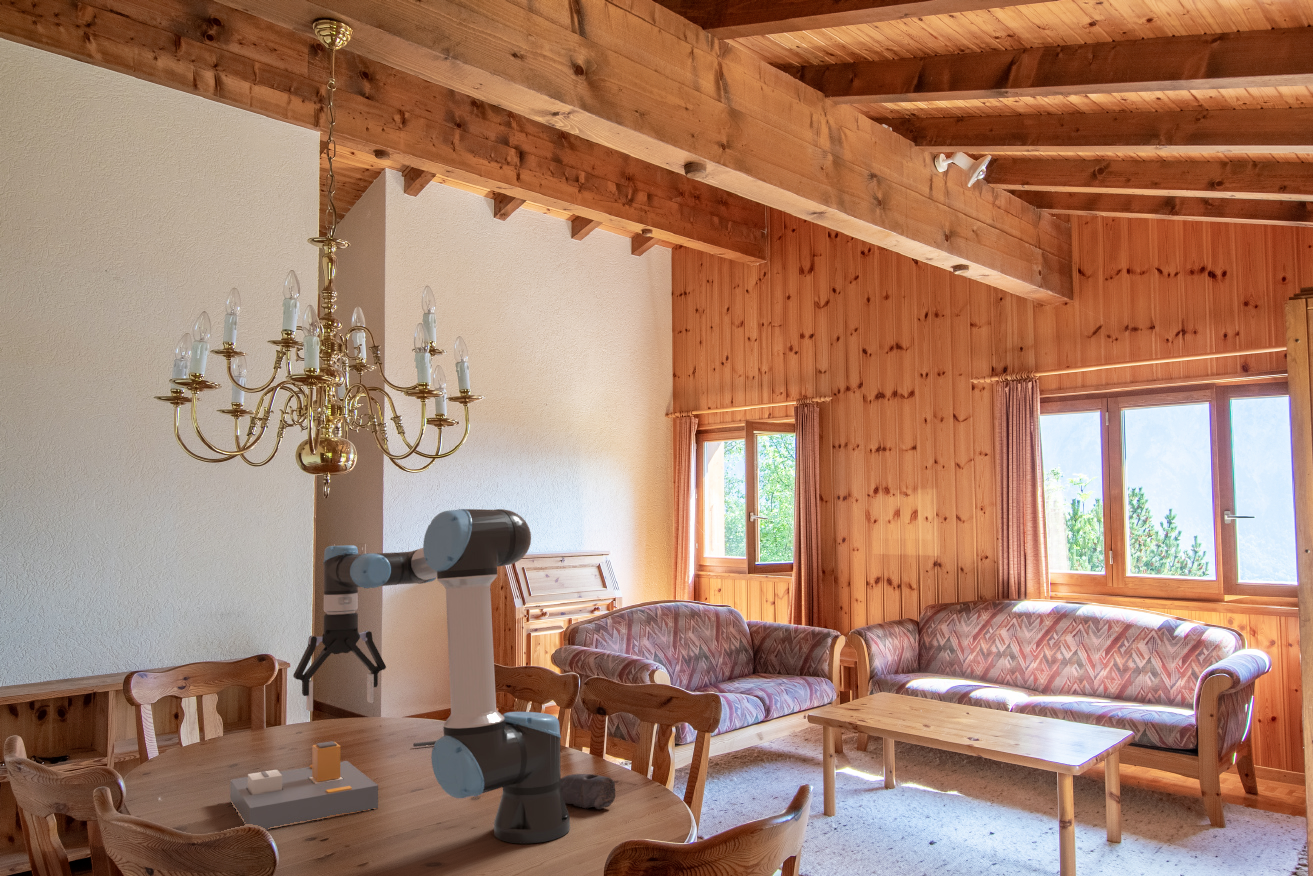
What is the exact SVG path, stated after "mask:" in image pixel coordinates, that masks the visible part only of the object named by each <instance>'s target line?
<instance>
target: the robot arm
mask: <svg viewBox="0 0 1313 876" xmlns="http://www.w3.org/2000/svg"><path fill="white" fill-rule="evenodd" d="M531 543H532V533H531V529H530V527H529V525H528V522H527V521H526V520H525V519H524V518H523V516H521V515H519V514H518V513H517V512H515V511H513V510H508V509H504V508H503V509H501V508H499V509H497V508H496V509H483V508H482V509H475V508H469V509H468V508H458V509H453V510H452V509H451V510H449V509H448V510H445V511H441V512H439V513H438V514H437V515H435V516H434V517H433V519H432V520H431V521H430V523H429V524H428V526H427V528H426V530H425V534H424V538H423V545H422V547H420V548H417V549H414V550H411V551H401V552H378V553H374V552H373V553H359V550H358V549H359V548H358V547H357V546H356V545H353V544H352V545H350V544H349V545H330V546H327V547H325V549H324V555H323V562H322V563H323V612H325V613H326V614H324V615H323V634H322V635H321V636H315V635H309V637H308V641H307V646H306V649H305V651H304V653H303V654H302V657H301V659H300V661H299V663H298V664H297V667H296V669H295V671H294V673H293V678H294V679H295V680H298V681H299V680H300V681H301V695H302V696H303V697H306V711H308V712H313V711H314V681H313V680H312V679H311V678H312V677H313V676H314V674H315V673H316V672H317V671H318V670H319V668H320V667H321V666H322V665H323V664H324V662H325V661H326V660H327V658H329V656H330V655H331V654H334V655H339V654H341V653H342V654H348V653H351V652H352V653H353V654H354V655H355V657H356V658H357V659H359V661H360V662H361V663H362V664H363V665H364V666H365V668H367V669H368V670H369V671H370V672H367V674H366V702H368V703H370V704H373V703H374V702H375V701H374V698H375V697H374V696H375V695H374V694H375V693H374V691H375V688H378V684H379V673H380V672H382V671H385V670H386V668H387V666H386V663H385V662H384V659H383V658H382V655H381V654H380V652H379V650H378V648H377V646H376V644H375V642H374V641H373V640H374V639H373V634H372V633H373V632H372V631H370V630H365V631H363V632H359V614H358V612H356V611H358V609H359V601H358V599H359V598H358V596H359V593H358V592H359V590H358V589H359V588H364V589H375V588H379V587H385V586H386V587H387V586H388V587H389V586H396V585H411V584H426V583H431V582H434V581H435V580H436V579H437V582H439V584H441V586H443V587H444V588H445V602H446V603H445V604H446V606H445V607H446V624H447V625H446V629H447V649H448V669H449V670H448V672H449V673H448V674H449V675H448V676H449V692H450V693H449V696H450V715H449V717H448V718H447V719H446V720H445V721H444V722H443V723H442V726H443V728H442V729H443V736H440V737H439V738H438V739H437V740H435V741H436V742H435V744H434V745H433V747H432V750H431V765H432V770H433V774H434V778H435V779H436V781H437V782H438V784H439V786H440V787H441V789H442V790H443V791H444V792H445V793H446V794H447V795H449V796H450V797H452V798H455V799H466V798H469V797H478V796H481V795H483V794H484V793H488V792H492V791H494V790H495V791H496V790H499V789H502V793H501V797H500V802H499V804H498V808H497V812H496V815H495V817H494V822H493V835H494V837H496V838H497V839H498V840H500V841H503V842H507V843H511V844H539V843H545V842H548V841H549V842H550V841H553V840H554V841H555V840H557V839H559V838H562V837H563V836H565V835H567V834H568V833H569V831H570V829H571V819H570V814H569V810H568V808H567V807H568V806H567V805H566V804H567V803H565V801H564V798H563V795H562V792H561V778H562V777H561V776H562V775H561V774H562V773H561V738H562V736H561V729H560V728H561V727H560V721H559V719H558V718H557V716H555V715H553V714H549V713H543V712H534V711H509V712H505V713H503V714H501V713H500V712H499V711H498V709H497V700H496V699H497V698H496V697H497V696H496V681H495V680H496V678H495V675H496V672H495V658H494V654H495V653H494V639H493V637H494V635H493V634H494V633H493V619H492V618H493V616H492V615H493V614H492V612H493V611H492V596H491V595H492V592H491V585H492V583H493V582H494V581H495V580H496V579H497V577H498V567H504V566H505V567H506V566H510V565H513V564H515V563H518V562H519V561H520V560H522V559H523V558H524V557H525V555H527V553H528V552H529V550H530V548H531ZM360 639H361V640H362V642H364V643H365V645H366V647H367V649H368V651H369V653H370V655H371V656H372V659H373V661H374V662H375V664H376V665H375V664H374V663H373V662H372V661H371V660H370V659H369V658H368V657H367V656H366V655H365V653H364V652H363V651H362V649H360V648H359V647H358V645H357V643H358V642H359V640H360ZM320 643H322V644H323V646H324V647H323V648H322V650H321V651H320V653H319V654H318V655H317V657H316V658H315V659H314V661H313V662H312V663H311V665H309V662H310V660H311V659H312V657H313V654H314V653H315V650H316V647H317V646H319V645H320ZM308 665H309V667H308V668H307V666H308Z"/></svg>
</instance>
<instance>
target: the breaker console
mask: <svg viewBox="0 0 1313 876" xmlns="http://www.w3.org/2000/svg"><path fill="white" fill-rule="evenodd" d="M279 772H280V774H281V775H282V790H279V791H273V792H267V793H261V794H255V795H251V794H250V793H249V792H248V776H245V777H238V778H233V779H230V784H229V785H230V786H229V787H230V791H229V793H230V794H229V796H230V798H229V800H230V799H231V801H232V802H233V804H234V805H235V807H236V808H237V810H238V811H239V813H240V814H241V816H242V818H243V819H244V822H246V823H245V824H253V825H258V826H261V827H263V828H265V829H267V830H266V831H269V829H268V828H270V827H274V826H280V825H284V824H290V823H294V822H300V821H307V820H312V819H317V818H322V817H327V816H330V815H336V814H342V813H350V812H357V811H363V810H368V809H373V808H378V809H379V785H378V784H377V783H376V782H374V781H373V780H372V779H371V778H369V777H368V776H367V775H366V774H365V773H363V772H362V771H361V770H359V769H358V768H357V767H356V766H354V765H353V764H352V763H351V762H350V761H348V760H343V761H340V777H342V778H343V780H337V781H331V782H325V783H320V784H313V783H312V782H311V781H310V780H309V777H312V764H310V765H309V766H307V767H301V768H293V769H288V770H282V771H279Z"/></svg>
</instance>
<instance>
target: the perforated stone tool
mask: <svg viewBox="0 0 1313 876" xmlns="http://www.w3.org/2000/svg"><path fill="white" fill-rule="evenodd" d="M561 792H562V795H563V798H564V801H565V804H567V805H573V806H574V807H577V808H578V807H579V808H581V807H582V808H583V809H586V808H587V809H589V808H595V809H596V810H602V809H604V808H608V807H610V806H611V805H612V804H613V803H614V802H615V799H616V782H615V780H613V778H611V777H610V776H603V775H600V774H599V775H598V774H592V773H576V774H575V773H574V774H568V775H565V776H563V777H561ZM582 808H581V809H582Z"/></svg>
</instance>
